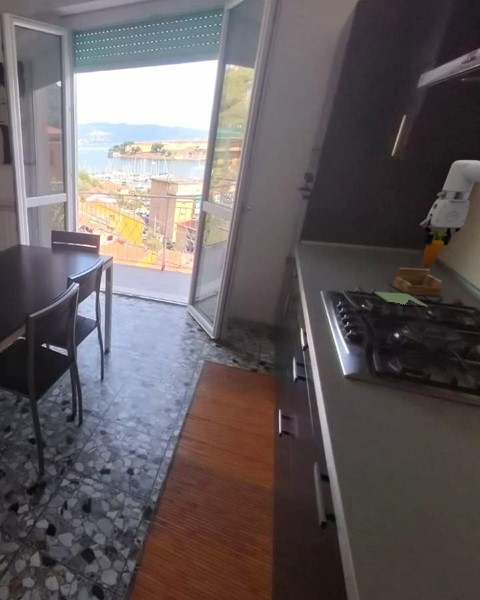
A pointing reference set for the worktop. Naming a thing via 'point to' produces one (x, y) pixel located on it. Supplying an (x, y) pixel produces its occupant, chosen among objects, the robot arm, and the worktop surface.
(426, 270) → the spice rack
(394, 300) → the mat
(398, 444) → the worktop surface
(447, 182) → the robot arm
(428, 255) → the carrot
